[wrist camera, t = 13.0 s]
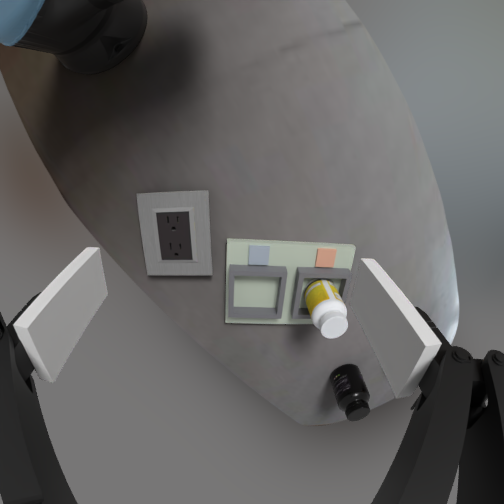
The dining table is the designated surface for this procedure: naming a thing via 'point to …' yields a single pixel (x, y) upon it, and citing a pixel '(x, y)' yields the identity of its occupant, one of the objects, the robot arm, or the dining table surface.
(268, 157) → the dining table surface
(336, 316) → the supplement bottle
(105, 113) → the dining table surface
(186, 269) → the electrical outlet
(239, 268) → the tag board
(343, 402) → the supplement bottle
